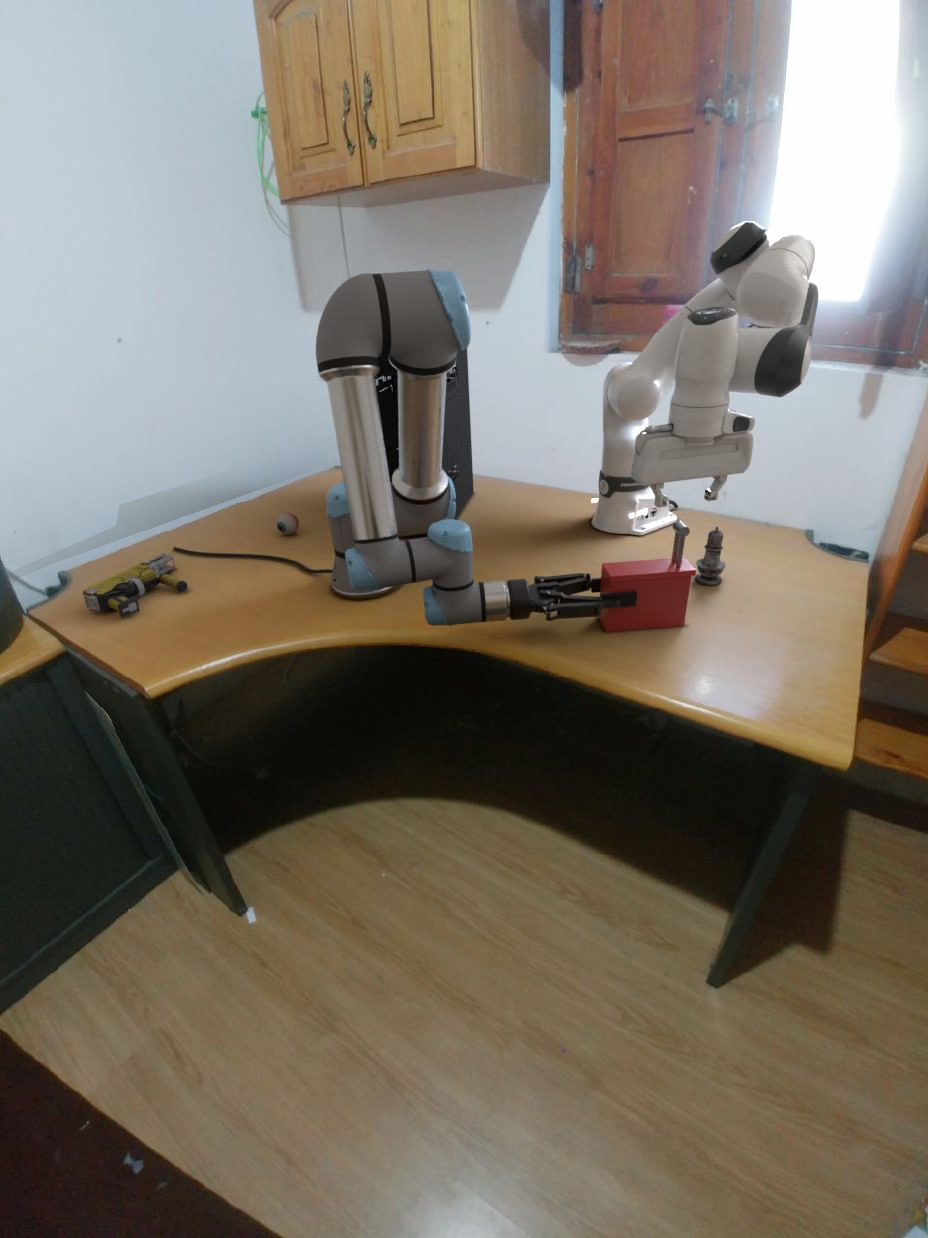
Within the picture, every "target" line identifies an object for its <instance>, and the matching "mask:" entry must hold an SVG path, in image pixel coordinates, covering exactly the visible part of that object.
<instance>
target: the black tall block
mask: <svg viewBox="0 0 928 1238" xmlns="http://www.w3.org/2000/svg"><path fill="white" fill-rule="evenodd" d="M468 358H469V357H468V347H467V348H466V349H464V350H462V351H460V350H457V359H456V364H455V366H454V367H453V368H452V369H451V370H450V371H448V372H447V377H446V395H445V413H444V431H443V449H442V467H441V468H442V469H443V470H444V471H445V473H446V474H447V476H449V477H450V478H451V480H452V482H453V485H454V488H455V495H456V499H455V503H456V511H455V516H454V520H457V518H458V517H459V515H460V514H461V513H462V511H463V509H464V508H465V507H466V504H468V502H469V501H470V499H471V497H472V496H473V494H475V493H474V492H475V491H474V473H473V471H474V470H473V449H472V448H473V446H472V427H471V425H472V424H471V405H470V404H471V402H470V401H471V400H470V383H469V382H470V381H469V380H470V379H469V359H468ZM378 361H379V368H380V370H379V372H378V373H377V375H376V376H375V384H376V391H377V398H378V404H379V411H380V418H381V424H382V431H383V438H384V444H385V451H386V458H387V464H388V471H389V478H390V482H392V476H393V473H394V471H395V470H396V469H397V468H398V467H399V427H398V370H397V369H395V368H394V367H393V366H392V365H391V363H390V361H389V359H388V356H378ZM427 534H428V533H422V534H415V535H408V536H401V537H398V538H399V539H401V538H403V539H417V538H424V537H428V535H427Z"/></svg>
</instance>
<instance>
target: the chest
mask: <svg viewBox="0 0 928 1238" xmlns="http://www.w3.org/2000/svg"><path fill="white" fill-rule="evenodd" d="M600 571H601V572H600V573H601V574H600V578H601V585H600V592H599V597H600V596H601V594H606V593H620V592H633V591H636V592H637V601H636V606H632V607H619V608H606V609H602V610H601V615H600V616H599V617H598V619H599V622H600V623H601V625H602V627H603V630H604V631H605V632H606V633H611V632H622V631H623V632H624V631H625V632H626V631H635V630H637V631H638V630H648V629H660V628H662V629H663V628H674V627H675V628H676V627H684V626H685V620H686V614H687V607H688V601H689V596H690V595H689V594H690V589H691V582H692V576H685V577H672V578H659V579H645V580H632V581H619V582H610V581H609V580H608V578H607V576H606V575H605V573H604V572H603V570H602V569H601V570H600Z"/></svg>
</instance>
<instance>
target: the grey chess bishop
mask: <svg viewBox="0 0 928 1238" xmlns="http://www.w3.org/2000/svg"><path fill="white" fill-rule="evenodd" d="M719 529H720V528H719V527H718V526H716V527H715V529H713V530H710V531H709V532H708V534H707V542H706V544H705V545H704V549H705V550H704V551H705V552H704V555H703V558H700V559H698V560H697V561H696V568H697V572H698V573H697V574H696V575H695V580H696V581H697V582H698V583H700V584H703V585H711V586H712V585H713V586H714V585H718V584H720V583H722V577H720V575H721V574H722V573H723V571H724V569H726V567H727V565H726V563H725V561H722V560H721V554H722V551H723V549H724V547H723V542H724V541H723V540H724V532H722V531H721V530H719Z"/></svg>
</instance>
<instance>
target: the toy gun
mask: <svg viewBox="0 0 928 1238" xmlns="http://www.w3.org/2000/svg"><path fill="white" fill-rule="evenodd" d="M171 561H172V564H173V565H170V564H168V563H170V562H171ZM175 569H176V563H175V559H174V556H173V555H172V554H167V553H165V552H164V553H161V554H160V555H158V556H155V557H154V558H151V559H148V560H147V561H145V562H141V563H139V564H136V565H134V566H133V567H130V568H128V569H126V570H124V571H122V572H120V573H117V574H115V575H113V576H111V577H109V578H107V579H105V580H103V581H100V582H99V583H96V584H93V585H92V586H89V587H88V588H85V589H84V590H83V591H82V593H81V594H82V596H83V599H84V603H85V606H86V608H87V609H88V610H89V611H90V612H93V613H96V612H108V611H111V610H115V611H117V612H118V613H119V616H120V618H122V619H125V618H126V617H129V616H131V615H134V614H136V613H138V612H140V611H141V610H140V605H139V601H138V599H139V598H141V597H143V596H145V594H146V591H148V590H150V589H153V588H155V587H158V586H159V584H162V585H164V586H165V587H166V586H167V587H169V588H171V589H173V590H177V591H178V592H180V593H183V592H186V591H187V590H188V583H187V582H186V581H185V580H180V579H179V578H176V577H174V576H171V575H169V574H167V573H168V572H170V571H172V570H175Z"/></svg>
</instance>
